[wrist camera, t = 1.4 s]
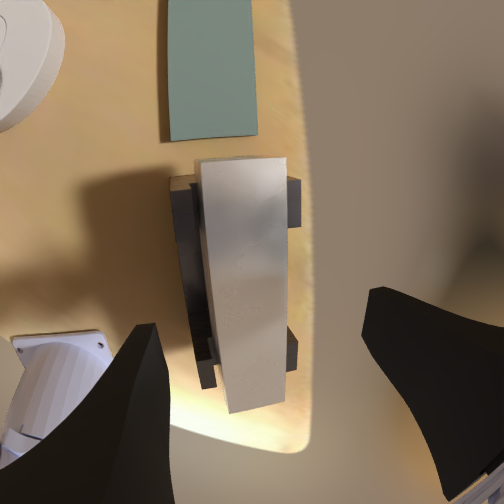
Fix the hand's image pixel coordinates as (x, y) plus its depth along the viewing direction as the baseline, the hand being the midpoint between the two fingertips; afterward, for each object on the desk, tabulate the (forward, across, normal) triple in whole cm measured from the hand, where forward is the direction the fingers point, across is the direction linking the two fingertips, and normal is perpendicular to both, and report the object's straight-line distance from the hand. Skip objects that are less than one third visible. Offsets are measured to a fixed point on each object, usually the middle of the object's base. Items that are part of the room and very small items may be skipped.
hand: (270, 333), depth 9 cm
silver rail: (+6, 0, +1) cm, 6 cm away
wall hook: (+10, +13, -12) cm, 20 cm away
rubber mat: (+10, 0, -14) cm, 17 cm away
